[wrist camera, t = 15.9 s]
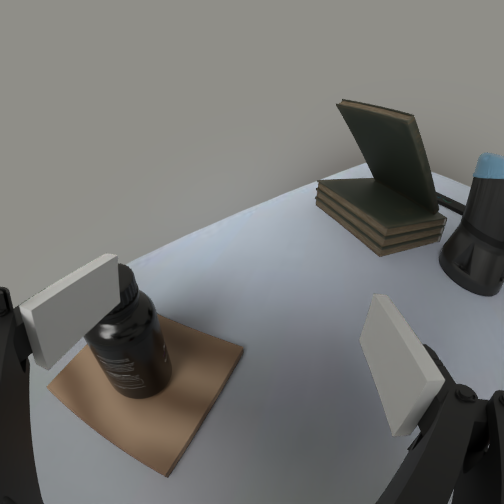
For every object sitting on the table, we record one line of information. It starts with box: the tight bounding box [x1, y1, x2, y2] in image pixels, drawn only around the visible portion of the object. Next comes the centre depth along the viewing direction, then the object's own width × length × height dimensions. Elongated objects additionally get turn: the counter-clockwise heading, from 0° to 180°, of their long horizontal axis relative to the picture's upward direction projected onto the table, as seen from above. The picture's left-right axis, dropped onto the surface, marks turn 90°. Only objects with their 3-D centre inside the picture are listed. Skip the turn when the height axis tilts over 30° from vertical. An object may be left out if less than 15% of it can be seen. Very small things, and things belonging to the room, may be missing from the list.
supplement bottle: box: [84, 264, 172, 399], centre depth 22 cm, size 7×7×12 cm
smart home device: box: [436, 192, 466, 216], centre depth 72 cm, size 8×2×20 cm
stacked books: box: [315, 99, 447, 257], centre depth 52 cm, size 23×20×25 cm
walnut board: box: [47, 314, 244, 478], centre depth 26 cm, size 16×16×1 cm
